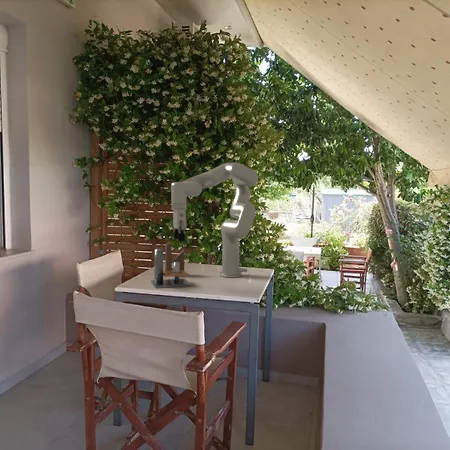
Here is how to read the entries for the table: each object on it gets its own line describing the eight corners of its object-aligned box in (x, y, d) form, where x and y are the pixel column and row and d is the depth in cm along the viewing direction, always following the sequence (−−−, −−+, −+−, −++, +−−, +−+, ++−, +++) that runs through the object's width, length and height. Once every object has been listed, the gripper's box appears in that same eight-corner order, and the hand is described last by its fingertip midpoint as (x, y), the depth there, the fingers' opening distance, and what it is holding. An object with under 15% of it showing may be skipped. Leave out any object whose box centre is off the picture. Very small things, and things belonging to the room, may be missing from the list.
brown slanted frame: (184, 275, 249) (184, 243, 247) (165, 275, 247) (165, 243, 246) (183, 274, 252) (184, 242, 251) (164, 274, 251) (164, 242, 249)
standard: (155, 288, 216) (155, 251, 215) (150, 282, 230) (150, 247, 228) (191, 286, 222) (191, 250, 221) (184, 280, 235) (184, 246, 234)
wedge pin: (178, 281, 228) (178, 262, 228) (180, 282, 226) (180, 263, 225) (173, 281, 228) (173, 262, 227) (174, 282, 225) (174, 263, 224)
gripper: (190, 207, 218) (190, 241, 220) (182, 205, 234) (182, 237, 236) (175, 207, 215) (175, 242, 217) (168, 205, 232) (168, 238, 233)
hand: (179, 239), depth 226 cm, fingers open, 9 cm apart
